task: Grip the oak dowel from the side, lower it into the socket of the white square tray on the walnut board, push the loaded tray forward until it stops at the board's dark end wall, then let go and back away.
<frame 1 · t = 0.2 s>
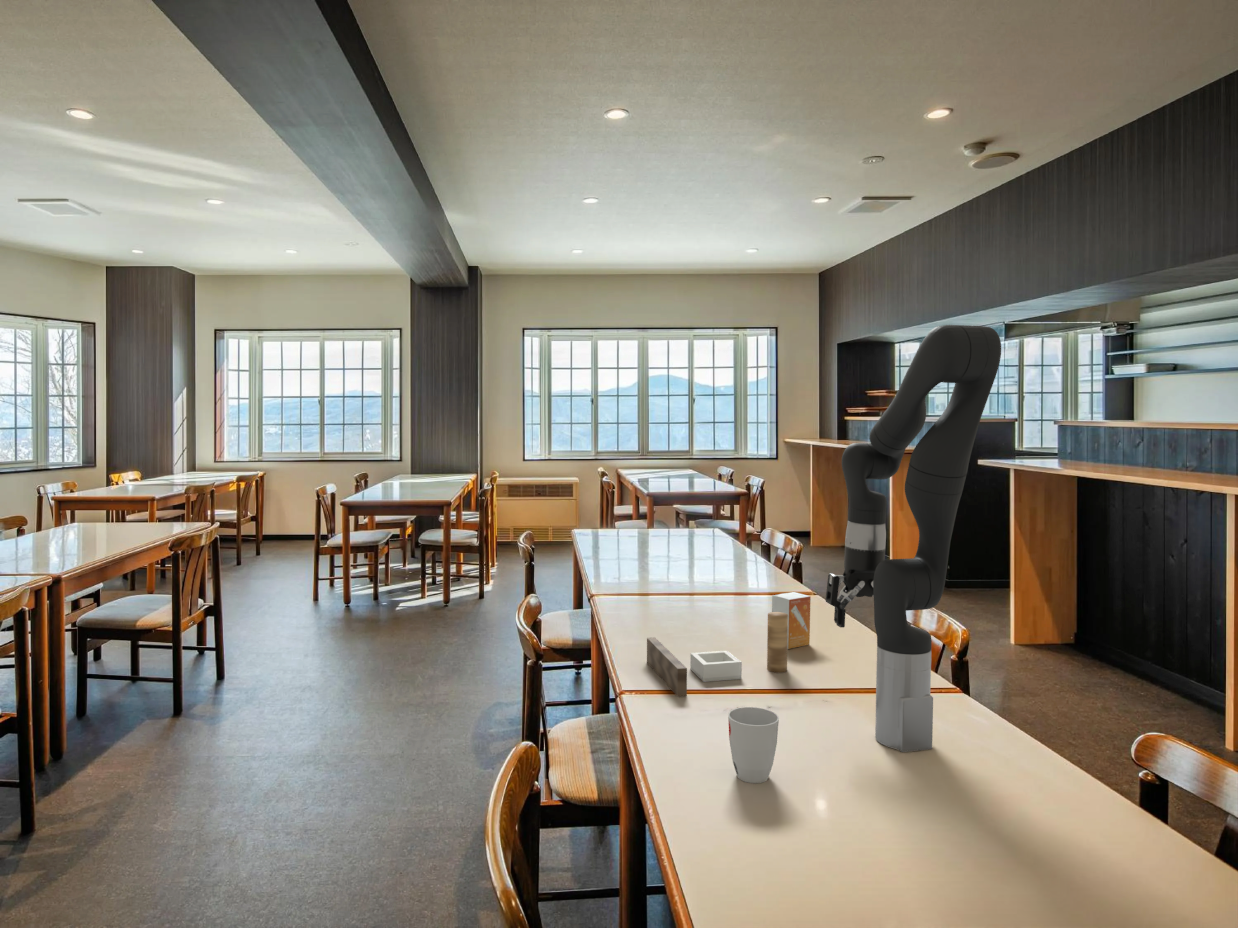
hand: (860, 625, 152), 18 cm above the table, tool pointing down, fingers open, 8 cm apart
cup: (752, 777, 126), on the table
white square tray: (715, 665, 174), point 3 cm above the table, slide at 0.0 cm
small box: (790, 645, 202), on the table
oak dowel: (776, 674, 178), on the table
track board: (702, 680, 173), on the table
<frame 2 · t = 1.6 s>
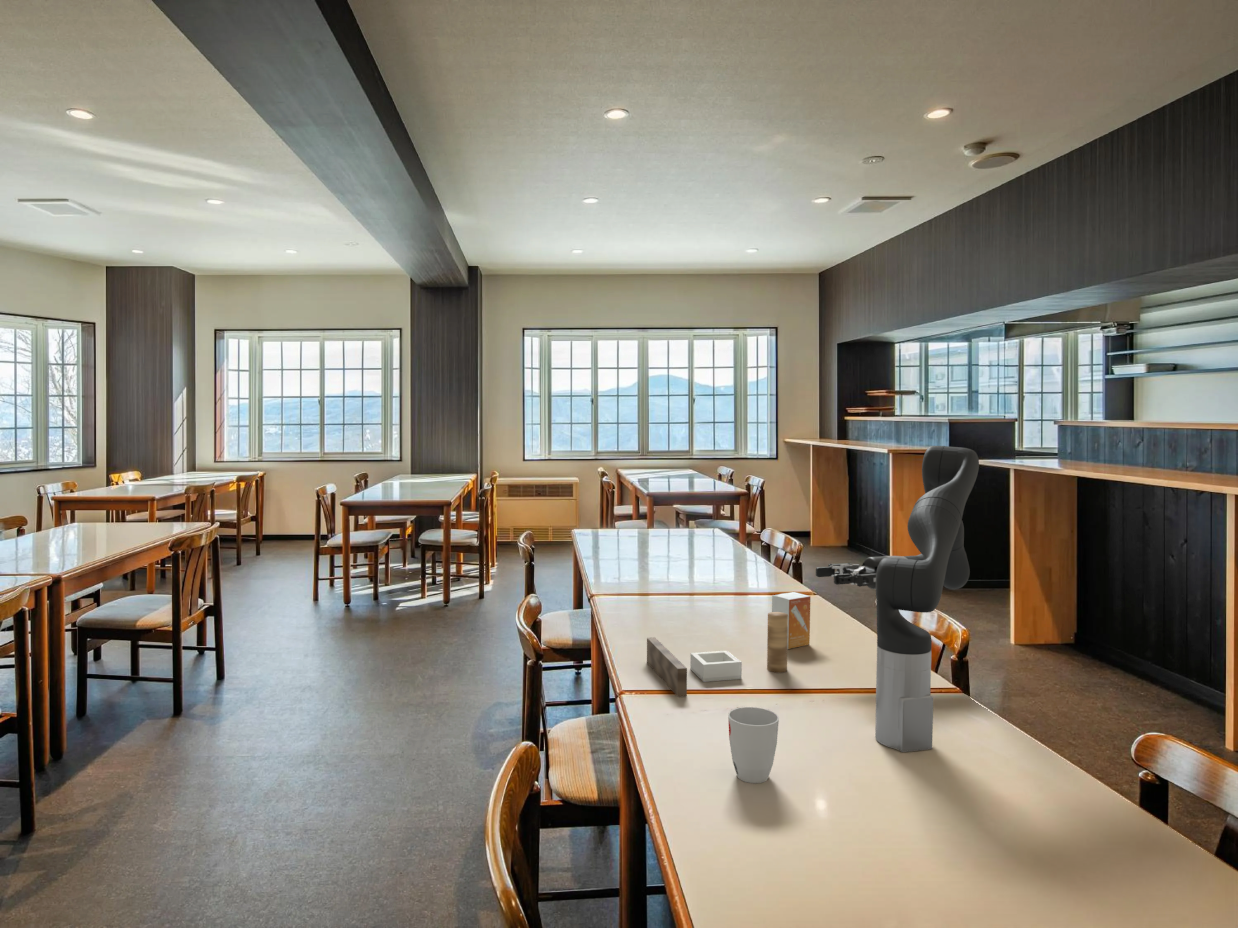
hand: (825, 575, 179), 22 cm above the table, tool horizontal, fingers open, 8 cm apart
nothing on the table moved.
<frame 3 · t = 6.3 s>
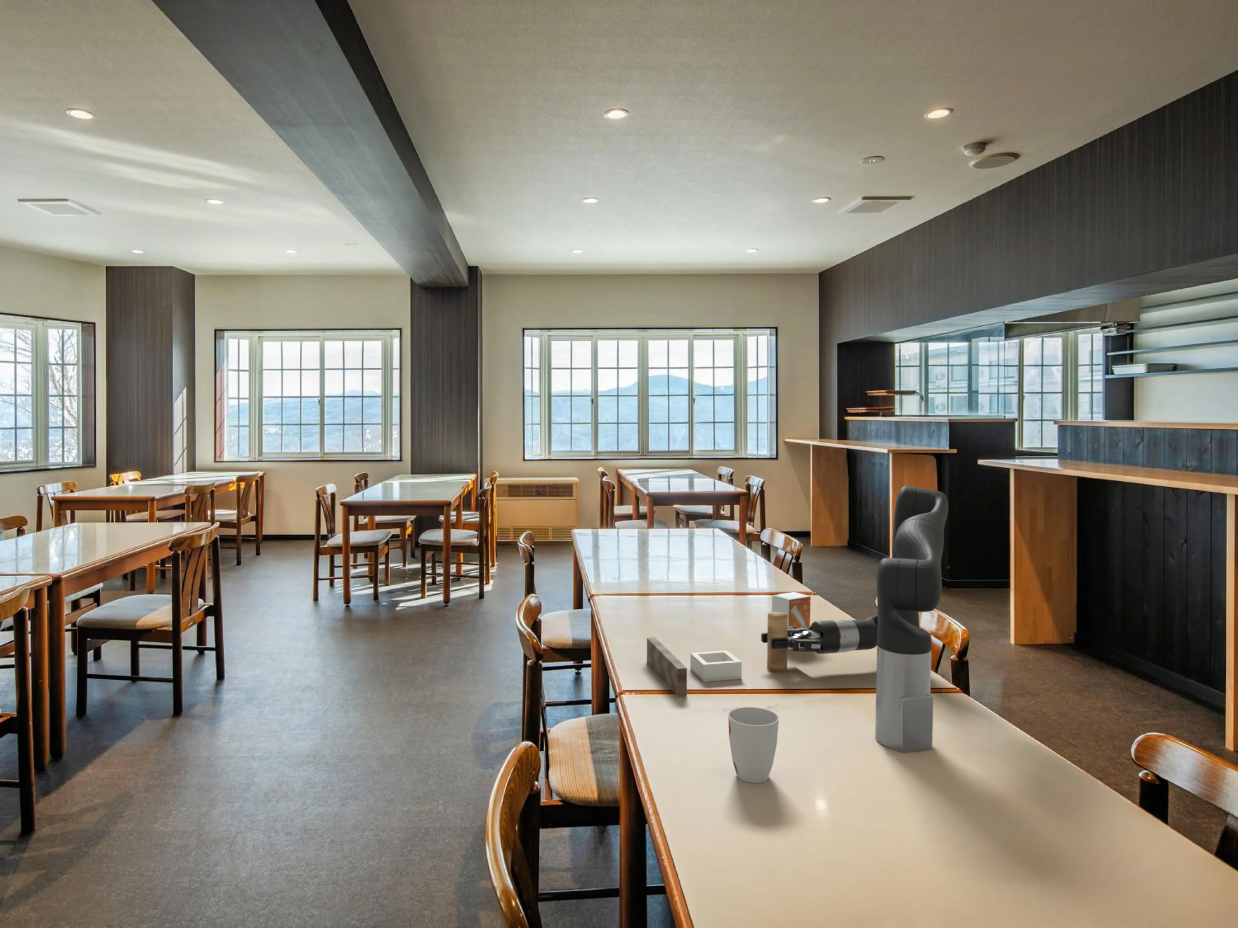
hand: (766, 640, 176), 8 cm above the table, tool horizontal, fingers closed on oak dowel, 4 cm apart
oak dowel: (777, 674, 177), on the table, touching gripper
everything else where it was.
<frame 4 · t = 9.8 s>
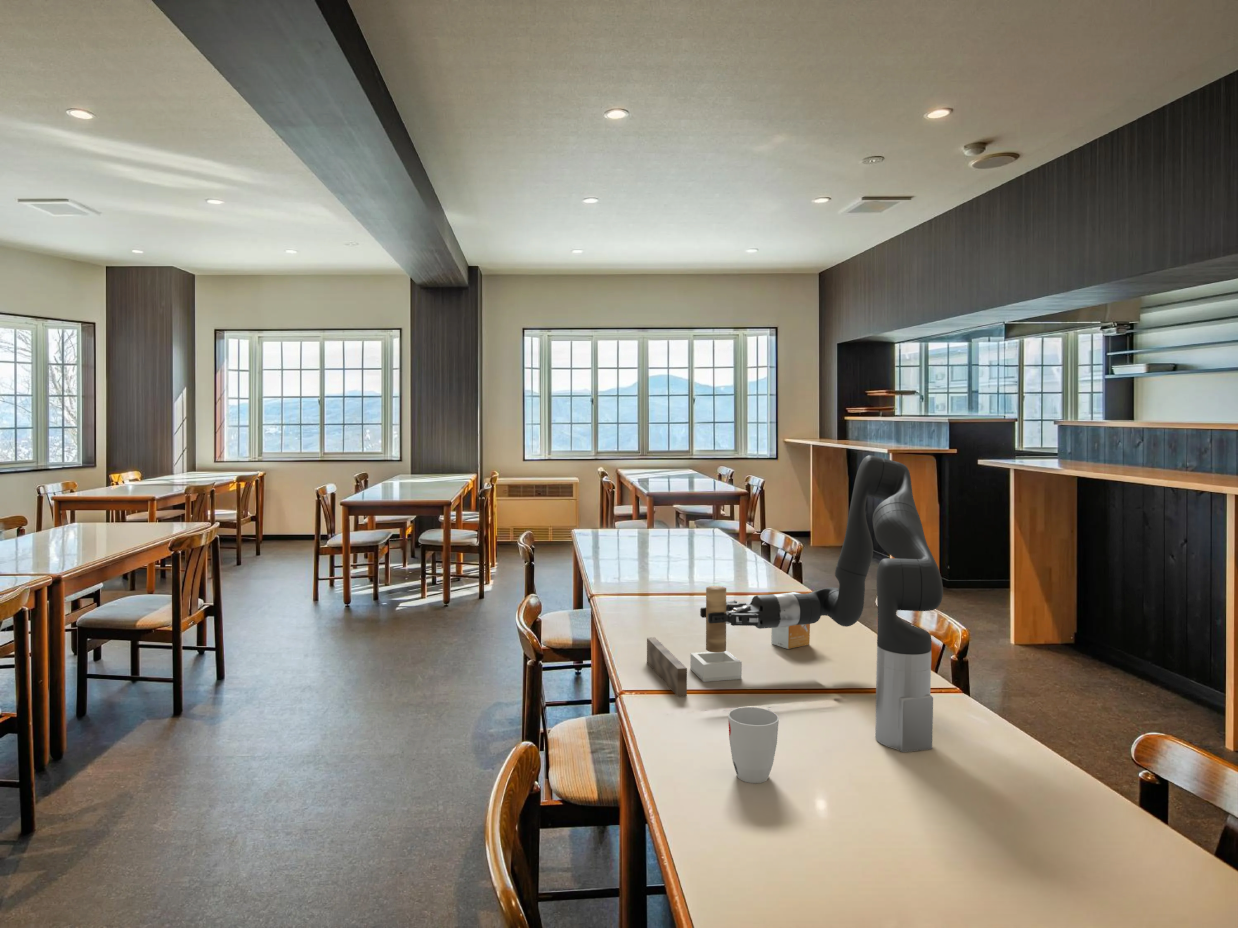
hand: (704, 615, 173), 15 cm above the table, tool horizontal, fingers closed on oak dowel, 4 cm apart
oak dowel: (716, 649, 174), point 7 cm above the table, touching gripper
everything else where it was.
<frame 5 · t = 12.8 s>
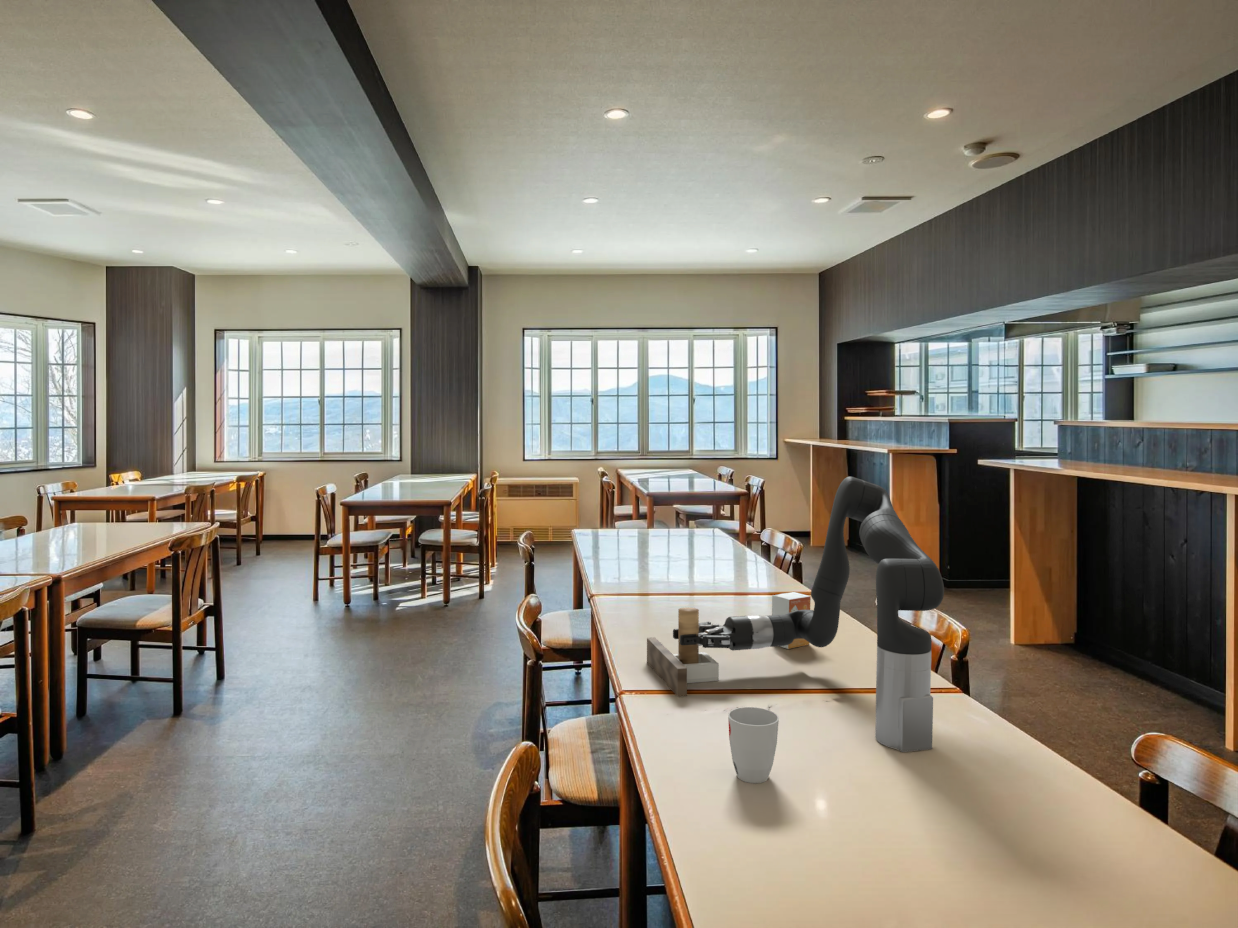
hand: (677, 637, 172), 10 cm above the table, tool horizontal, fingers closed on oak dowel, 4 cm apart
white square tray: (692, 667, 173), point 3 cm above the table, slide at 5.4 cm, touching oak dowel
oak dowel: (688, 671, 173), point 2 cm above the table, touching gripper, white square tray
everything else where it was.
when the fingers open (10 cm above the table, at t = 13.8 s): oak dowel stays where it is, resting on white square tray.
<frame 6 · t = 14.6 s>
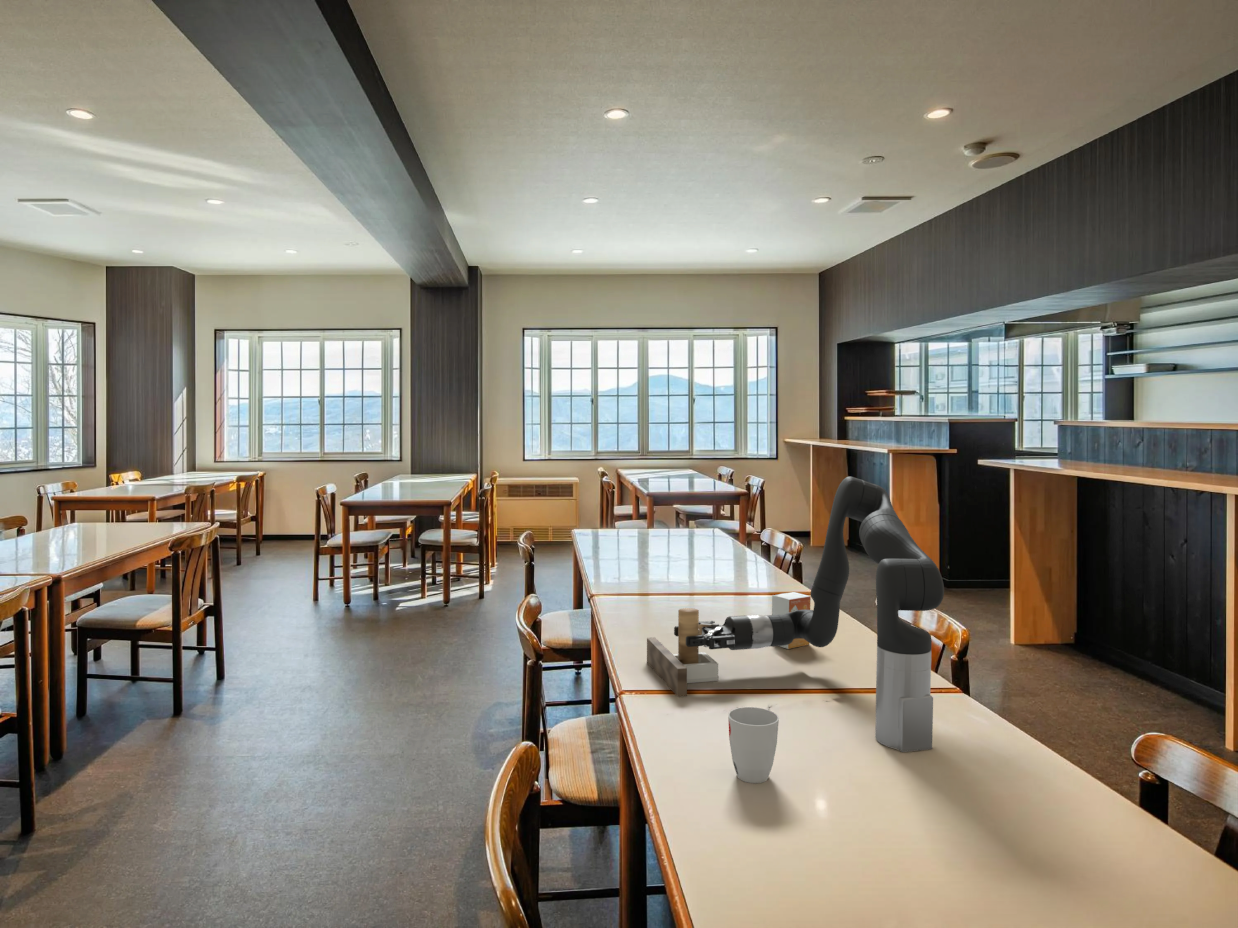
hand: (680, 636, 172), 10 cm above the table, tool horizontal, fingers open, 8 cm apart
oak dowel: (688, 672, 173), point 2 cm above the table, touching white square tray
everything else where it was.
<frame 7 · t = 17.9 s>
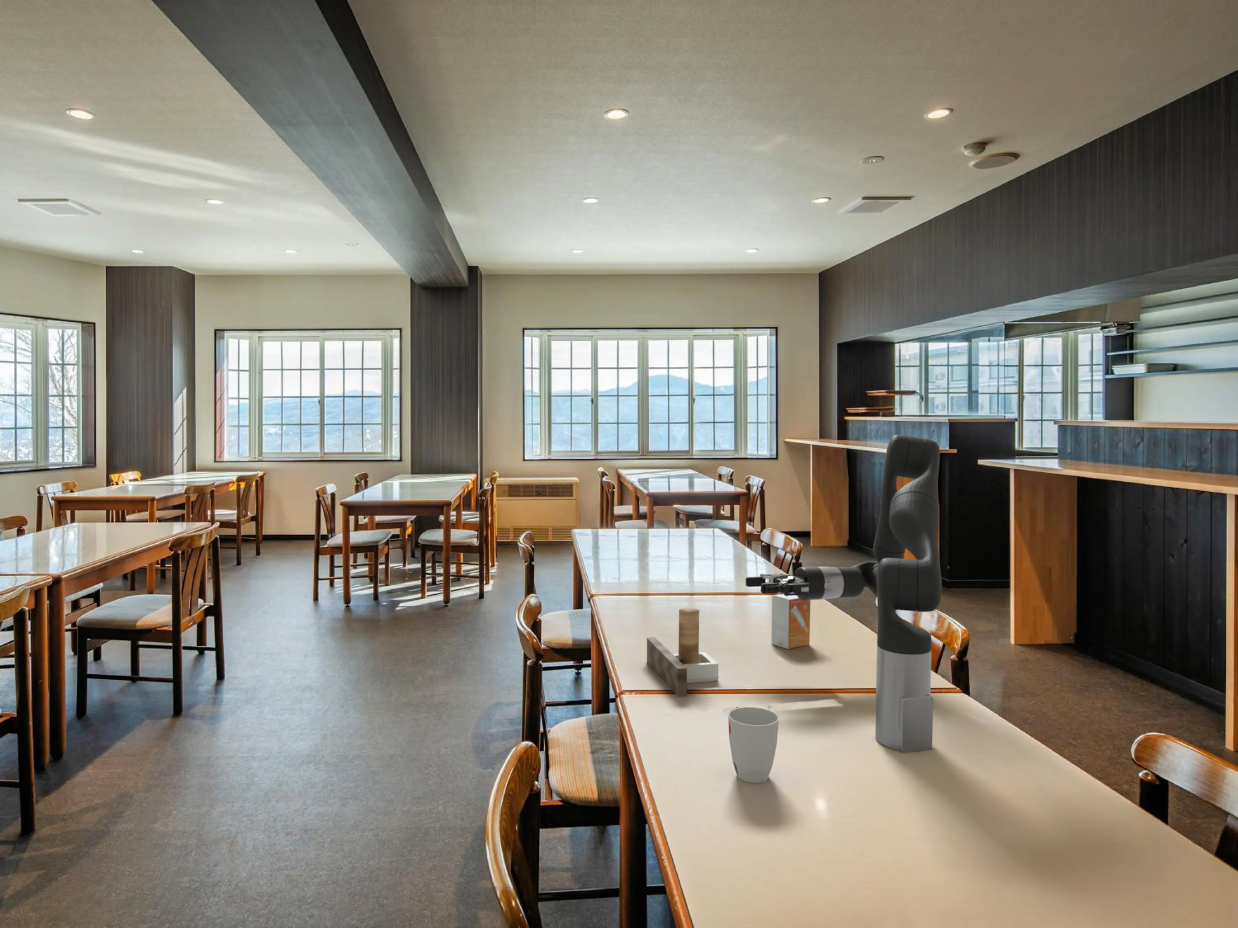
hand: (753, 585, 175), 21 cm above the table, tool horizontal, fingers open, 8 cm apart
nothing on the table moved.
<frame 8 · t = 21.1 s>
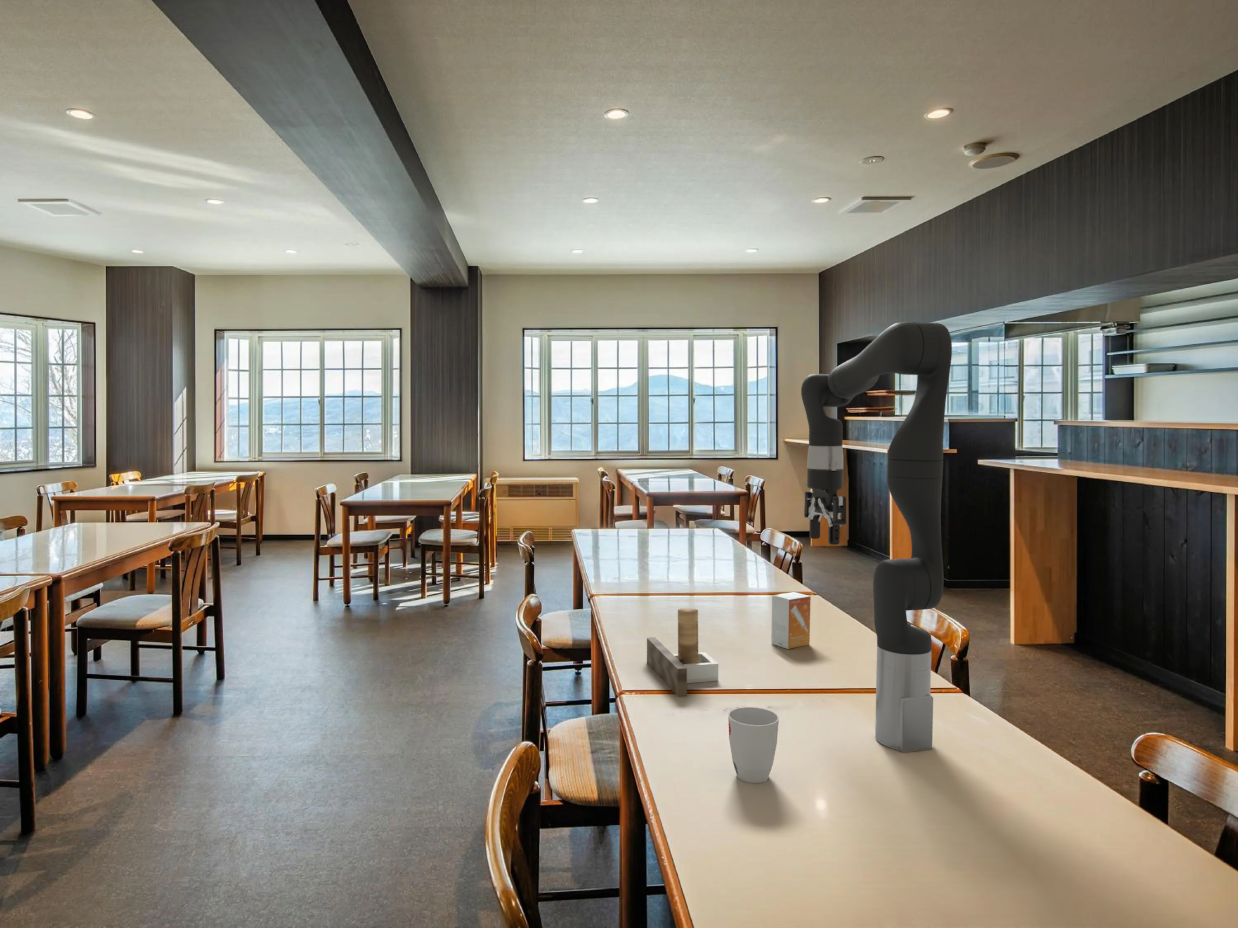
hand: (824, 541, 168), 32 cm above the table, tool pointing down, fingers open, 8 cm apart
nothing on the table moved.
at the end: white square tray slide at 5.5 cm; oak dowel inside the target area (0.4 cm from its centre), point 2.0 cm above the table; oak dowel tilted 1° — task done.
